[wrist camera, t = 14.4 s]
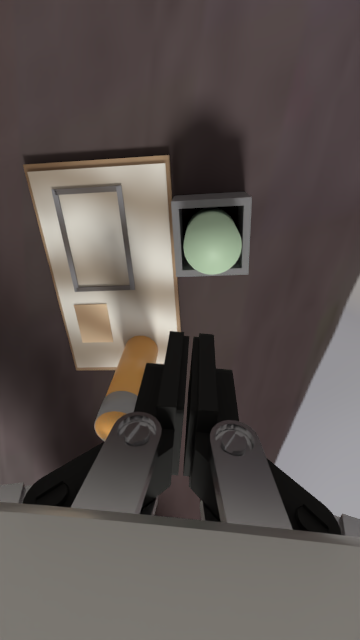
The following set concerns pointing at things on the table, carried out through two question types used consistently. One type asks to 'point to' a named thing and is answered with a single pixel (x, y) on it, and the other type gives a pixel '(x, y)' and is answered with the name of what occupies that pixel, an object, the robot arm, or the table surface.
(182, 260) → the button housing
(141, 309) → the sheet
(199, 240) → the button
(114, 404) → the marker
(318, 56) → the table surface
